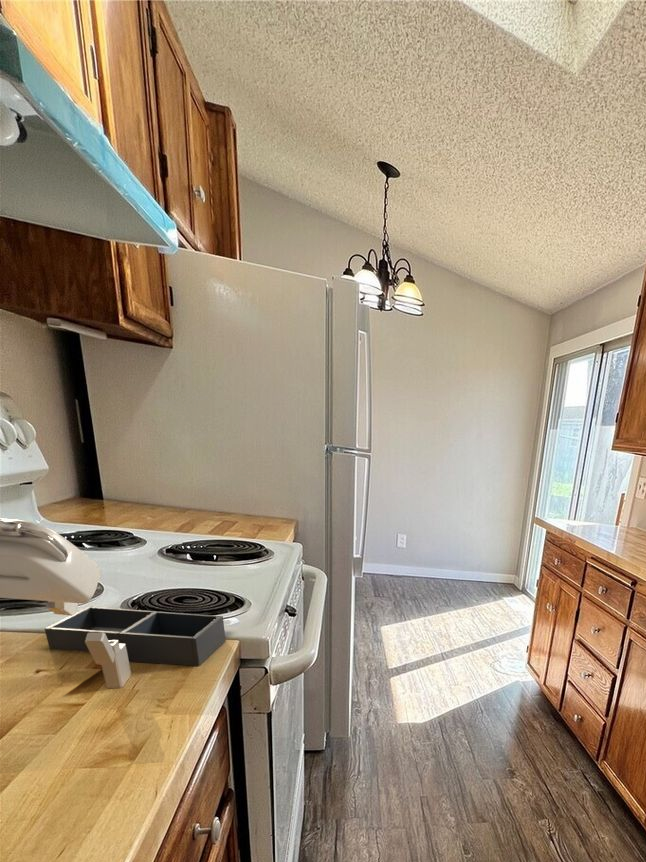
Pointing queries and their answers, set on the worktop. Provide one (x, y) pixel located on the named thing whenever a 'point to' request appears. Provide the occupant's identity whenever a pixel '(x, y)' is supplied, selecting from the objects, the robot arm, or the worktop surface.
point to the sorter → (143, 634)
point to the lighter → (109, 659)
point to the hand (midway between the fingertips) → (14, 604)
